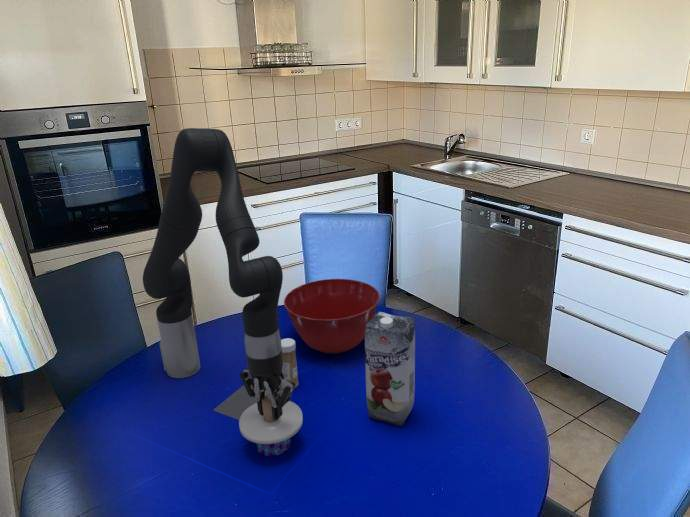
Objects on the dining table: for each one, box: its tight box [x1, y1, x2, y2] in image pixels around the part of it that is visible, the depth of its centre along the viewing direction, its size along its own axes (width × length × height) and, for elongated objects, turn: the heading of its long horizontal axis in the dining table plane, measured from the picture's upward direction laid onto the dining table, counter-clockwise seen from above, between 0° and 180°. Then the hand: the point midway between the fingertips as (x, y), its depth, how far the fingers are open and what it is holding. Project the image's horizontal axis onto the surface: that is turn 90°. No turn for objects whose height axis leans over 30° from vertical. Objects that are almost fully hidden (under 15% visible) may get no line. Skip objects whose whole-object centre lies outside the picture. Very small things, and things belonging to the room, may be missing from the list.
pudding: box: [255, 437, 292, 457], centre depth 120 cm, size 12×12×5 cm
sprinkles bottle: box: [281, 337, 299, 389], centre depth 140 cm, size 5×5×14 cm
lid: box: [238, 395, 304, 444], centre depth 118 cm, size 14×14×6 cm
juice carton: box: [364, 311, 416, 427], centre depth 125 cm, size 9×10×27 cm
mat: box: [212, 384, 283, 421], centre depth 136 cm, size 14×14×1 cm
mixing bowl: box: [283, 278, 381, 354], centre depth 161 cm, size 28×28×16 cm
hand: (270, 415), depth 118 cm, fingers closed on lid, 3 cm apart
